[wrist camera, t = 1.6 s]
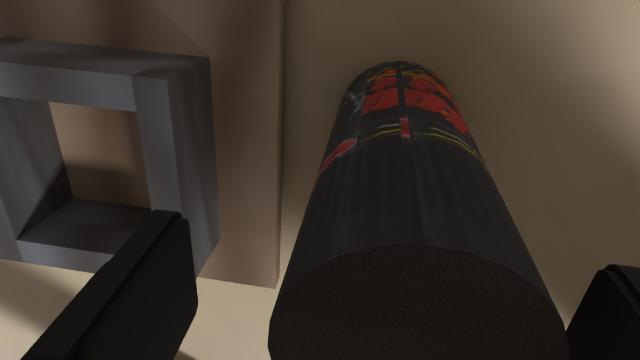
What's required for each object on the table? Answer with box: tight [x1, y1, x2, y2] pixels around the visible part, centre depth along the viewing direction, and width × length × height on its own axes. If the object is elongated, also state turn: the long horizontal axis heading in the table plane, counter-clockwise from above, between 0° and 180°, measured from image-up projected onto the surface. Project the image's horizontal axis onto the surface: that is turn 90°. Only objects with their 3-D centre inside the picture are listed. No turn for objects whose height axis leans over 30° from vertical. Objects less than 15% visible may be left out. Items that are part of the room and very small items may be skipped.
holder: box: [0, 0, 286, 289], centre depth 22 cm, size 18×18×6 cm
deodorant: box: [268, 61, 570, 360], centre depth 15 cm, size 6×6×15 cm
